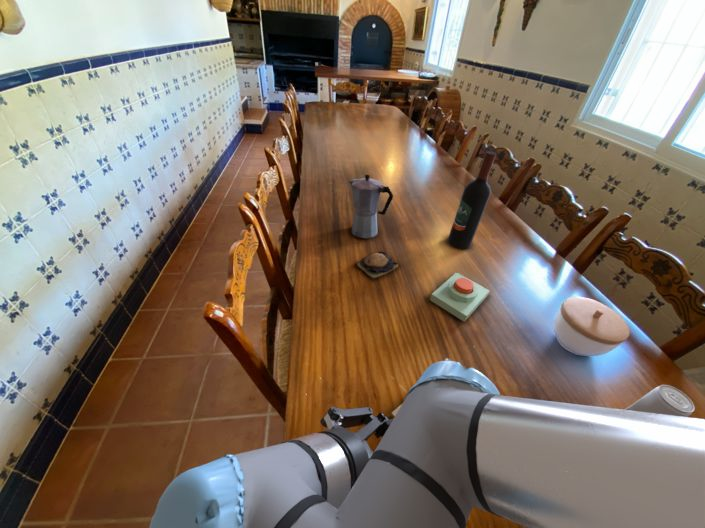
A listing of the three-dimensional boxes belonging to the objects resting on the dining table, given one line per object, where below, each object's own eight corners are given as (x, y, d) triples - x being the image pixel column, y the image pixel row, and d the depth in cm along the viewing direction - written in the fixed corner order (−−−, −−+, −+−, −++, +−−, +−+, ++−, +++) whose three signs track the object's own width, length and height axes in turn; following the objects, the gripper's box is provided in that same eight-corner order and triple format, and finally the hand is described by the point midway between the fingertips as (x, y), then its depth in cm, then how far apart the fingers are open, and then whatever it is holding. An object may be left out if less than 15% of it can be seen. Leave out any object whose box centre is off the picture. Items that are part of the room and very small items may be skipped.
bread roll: (373, 281, 82) (374, 271, 80) (354, 264, 87) (355, 254, 85) (400, 267, 87) (402, 257, 85) (381, 252, 92) (383, 243, 90)
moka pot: (351, 219, 106) (355, 165, 94) (391, 232, 102) (401, 176, 89) (339, 232, 100) (341, 175, 87) (381, 246, 95) (390, 188, 82)
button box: (464, 322, 73) (469, 311, 70) (429, 300, 78) (433, 289, 75) (487, 296, 80) (492, 285, 78) (454, 277, 85) (458, 267, 83)
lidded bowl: (570, 370, 64) (601, 339, 57) (532, 324, 73) (554, 293, 66) (617, 362, 66) (652, 331, 59) (574, 318, 76) (600, 287, 69)
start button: (466, 297, 74) (468, 292, 73) (451, 288, 76) (452, 283, 75) (474, 288, 77) (476, 284, 76) (459, 280, 79) (461, 275, 78)
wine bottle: (469, 251, 96) (506, 159, 77) (446, 245, 98) (476, 154, 79) (471, 239, 101) (505, 151, 82) (448, 234, 103) (477, 146, 84)
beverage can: (636, 449, 52) (690, 419, 45) (607, 424, 55) (652, 392, 48) (647, 434, 54) (700, 403, 47) (618, 411, 57) (664, 378, 50)
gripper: (265, 430, 35) (361, 410, 54) (349, 596, 26) (431, 501, 45) (302, 383, 35) (386, 379, 54) (403, 535, 25) (462, 465, 44)
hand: (406, 434), depth 49 cm, fingers closed on lever, 4 cm apart
